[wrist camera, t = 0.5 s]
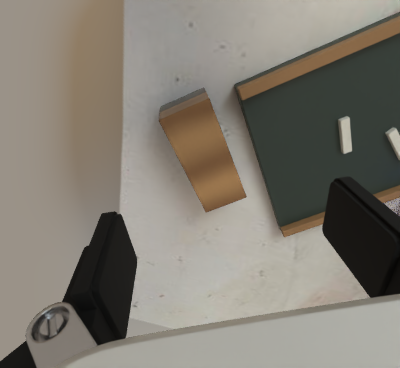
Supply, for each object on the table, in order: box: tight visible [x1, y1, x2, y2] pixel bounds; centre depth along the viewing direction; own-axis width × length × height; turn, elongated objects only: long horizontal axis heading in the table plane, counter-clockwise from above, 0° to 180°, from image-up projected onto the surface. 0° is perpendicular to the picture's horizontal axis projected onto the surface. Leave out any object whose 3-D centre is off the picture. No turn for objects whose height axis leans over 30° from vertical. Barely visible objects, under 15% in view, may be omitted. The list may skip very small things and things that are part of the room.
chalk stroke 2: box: [385, 127, 400, 160], centre depth 31 cm, size 5×1×1 cm, turn 42°
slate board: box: [235, 12, 400, 237], centre depth 30 cm, size 22×24×2 cm
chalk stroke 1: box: [338, 116, 352, 154], centre depth 29 cm, size 4×1×1 cm, turn 22°
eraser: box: [159, 88, 246, 212], centre depth 28 cm, size 12×5×4 cm, turn 22°
